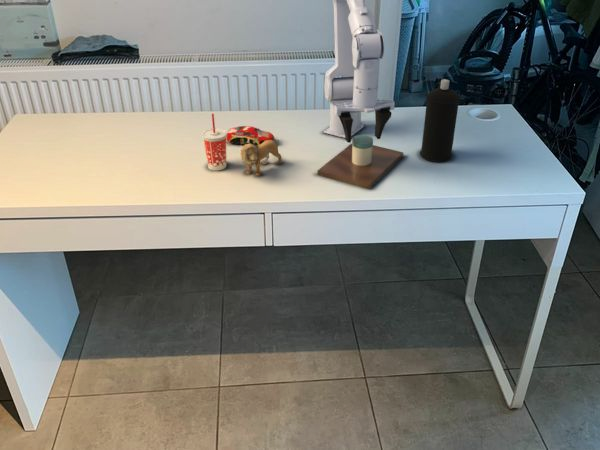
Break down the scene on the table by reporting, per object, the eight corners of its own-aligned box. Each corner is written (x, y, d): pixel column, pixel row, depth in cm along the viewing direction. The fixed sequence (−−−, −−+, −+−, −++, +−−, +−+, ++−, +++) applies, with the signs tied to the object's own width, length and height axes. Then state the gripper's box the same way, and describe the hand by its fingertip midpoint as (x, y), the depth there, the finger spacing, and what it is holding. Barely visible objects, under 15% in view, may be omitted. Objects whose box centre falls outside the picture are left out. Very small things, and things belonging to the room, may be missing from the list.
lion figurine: (255, 184, 147) (253, 149, 142) (236, 178, 149) (234, 145, 144) (286, 159, 158) (285, 127, 153) (268, 155, 160) (267, 123, 155)
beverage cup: (233, 162, 157) (229, 111, 149) (222, 173, 152) (218, 120, 144) (211, 159, 158) (207, 107, 151) (200, 169, 154) (195, 117, 146)
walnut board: (354, 144, 165) (355, 140, 165) (403, 156, 159) (403, 152, 158) (317, 174, 151) (317, 170, 150) (368, 189, 145) (369, 184, 144)
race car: (277, 140, 168) (276, 126, 166) (271, 148, 164) (271, 134, 161) (231, 135, 171) (230, 122, 168) (224, 143, 166) (223, 130, 164)
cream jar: (354, 155, 157) (355, 133, 154) (374, 158, 155) (375, 136, 152) (349, 164, 153) (349, 142, 150) (368, 167, 151) (370, 145, 148)
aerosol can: (452, 163, 155) (463, 87, 145) (419, 161, 157) (427, 85, 146) (452, 149, 162) (462, 76, 151) (420, 147, 164) (428, 74, 153)
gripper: (341, 94, 139) (339, 149, 146) (401, 88, 142) (396, 142, 149) (332, 84, 145) (331, 137, 152) (389, 78, 148) (386, 130, 155)
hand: (362, 139), depth 151 cm, fingers open, 7 cm apart
